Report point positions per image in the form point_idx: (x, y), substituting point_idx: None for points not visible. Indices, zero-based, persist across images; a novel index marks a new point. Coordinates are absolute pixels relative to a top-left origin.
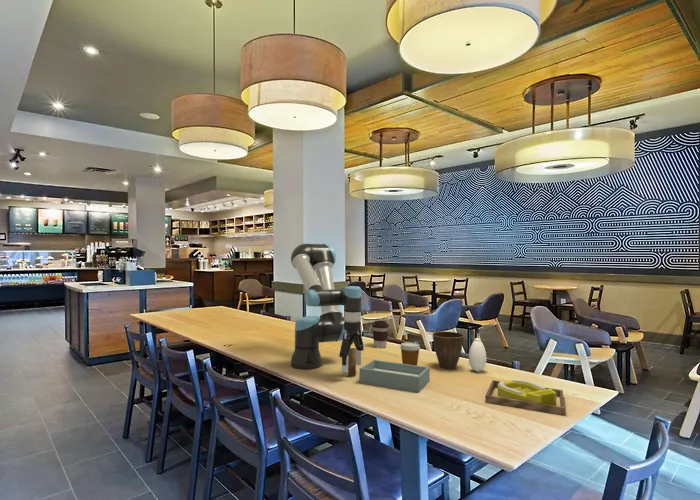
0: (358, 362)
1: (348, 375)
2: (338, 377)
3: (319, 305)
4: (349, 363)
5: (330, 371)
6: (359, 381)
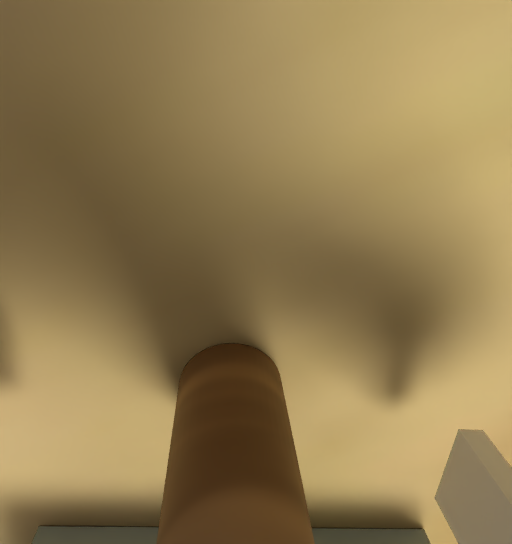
0: (464, 505)
1: (184, 373)
2: (81, 270)
3: None
4: (158, 535)
5: (319, 20)
6: (35, 537)
